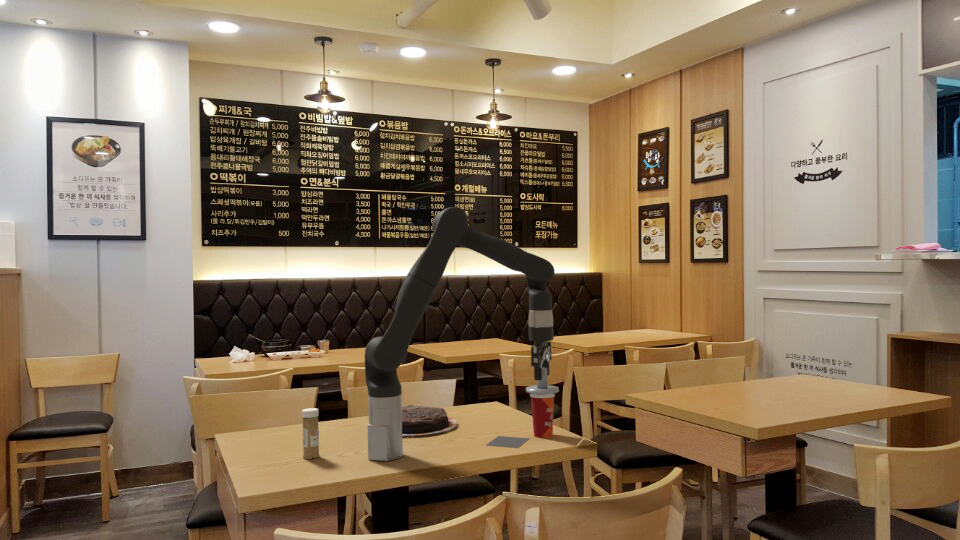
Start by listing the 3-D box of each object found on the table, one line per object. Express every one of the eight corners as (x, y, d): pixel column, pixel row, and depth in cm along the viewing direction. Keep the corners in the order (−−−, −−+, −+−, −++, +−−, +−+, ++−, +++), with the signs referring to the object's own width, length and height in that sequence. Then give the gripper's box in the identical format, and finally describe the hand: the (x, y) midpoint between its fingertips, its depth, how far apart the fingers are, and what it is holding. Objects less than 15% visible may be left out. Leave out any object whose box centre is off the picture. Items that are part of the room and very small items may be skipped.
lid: (554, 395, 188) (553, 371, 188) (521, 393, 192) (521, 370, 192) (562, 389, 198) (561, 366, 198) (531, 387, 201) (531, 365, 201)
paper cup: (554, 440, 190) (553, 393, 190) (529, 439, 192) (528, 393, 192) (556, 433, 198) (555, 389, 198) (532, 433, 199) (531, 388, 199)
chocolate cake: (425, 443, 192) (425, 421, 192) (354, 433, 206) (354, 413, 206) (472, 423, 216) (472, 404, 216) (406, 415, 230) (406, 397, 230)
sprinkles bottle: (319, 458, 176) (318, 410, 176) (302, 460, 175) (301, 411, 175) (319, 454, 181) (318, 407, 181) (303, 455, 180) (302, 408, 180)
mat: (518, 449, 181) (518, 448, 181) (485, 446, 185) (485, 445, 185) (529, 439, 192) (529, 438, 192) (498, 437, 195) (498, 435, 195)
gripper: (535, 322, 203) (536, 373, 203) (522, 326, 190) (523, 381, 190) (558, 323, 200) (559, 374, 200) (546, 327, 187) (547, 382, 187)
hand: (542, 377), depth 195 cm, fingers open, 8 cm apart
